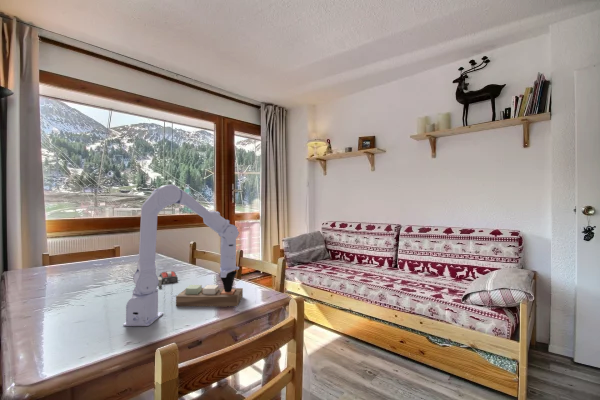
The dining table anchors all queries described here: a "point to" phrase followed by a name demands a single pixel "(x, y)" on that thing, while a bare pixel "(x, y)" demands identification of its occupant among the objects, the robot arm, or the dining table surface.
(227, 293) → the key rust
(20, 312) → the dining table surface
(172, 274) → the walkie-talkie
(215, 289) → the key cream
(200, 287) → the key sage
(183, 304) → the wooden tray
